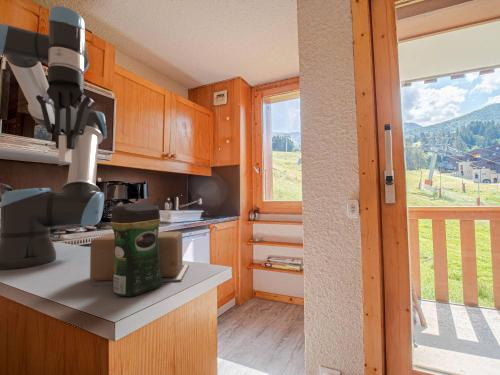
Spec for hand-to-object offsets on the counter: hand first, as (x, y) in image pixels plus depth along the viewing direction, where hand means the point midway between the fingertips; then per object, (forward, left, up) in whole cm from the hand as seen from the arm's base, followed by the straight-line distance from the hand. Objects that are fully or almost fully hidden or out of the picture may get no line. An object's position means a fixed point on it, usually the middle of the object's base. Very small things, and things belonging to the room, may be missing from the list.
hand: (65, 161), depth 63 cm
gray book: (0, +20, -29) cm, 36 cm away
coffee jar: (+11, +22, -29) cm, 38 cm away
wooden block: (+1, +9, -24) cm, 25 cm away
